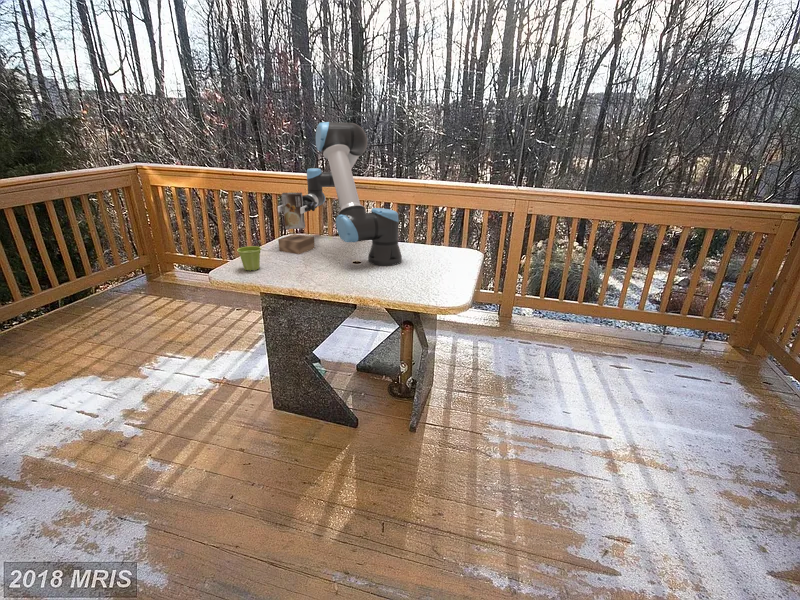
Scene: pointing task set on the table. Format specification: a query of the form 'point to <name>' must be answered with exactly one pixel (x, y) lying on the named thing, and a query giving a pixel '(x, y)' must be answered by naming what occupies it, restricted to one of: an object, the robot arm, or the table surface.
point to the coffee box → (293, 210)
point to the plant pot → (250, 257)
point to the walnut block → (296, 244)
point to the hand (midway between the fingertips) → (289, 210)
